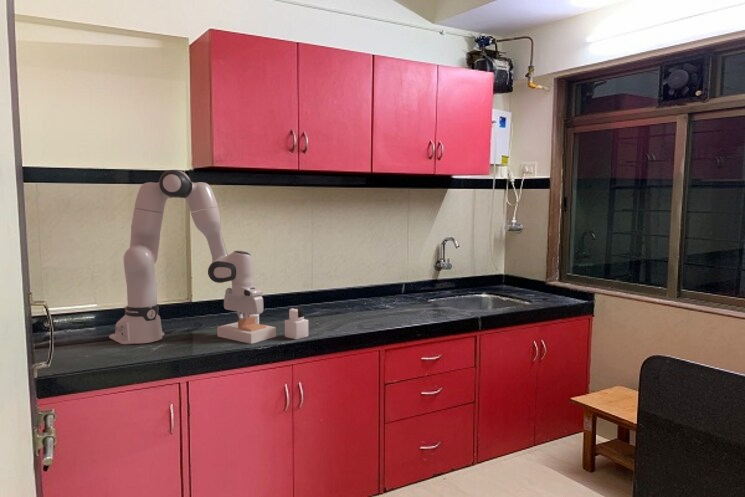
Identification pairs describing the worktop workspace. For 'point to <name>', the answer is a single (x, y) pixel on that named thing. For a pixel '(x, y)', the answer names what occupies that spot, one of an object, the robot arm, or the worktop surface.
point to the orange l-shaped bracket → (249, 324)
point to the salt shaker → (255, 317)
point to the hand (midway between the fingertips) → (243, 322)
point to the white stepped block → (296, 324)
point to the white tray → (245, 333)
